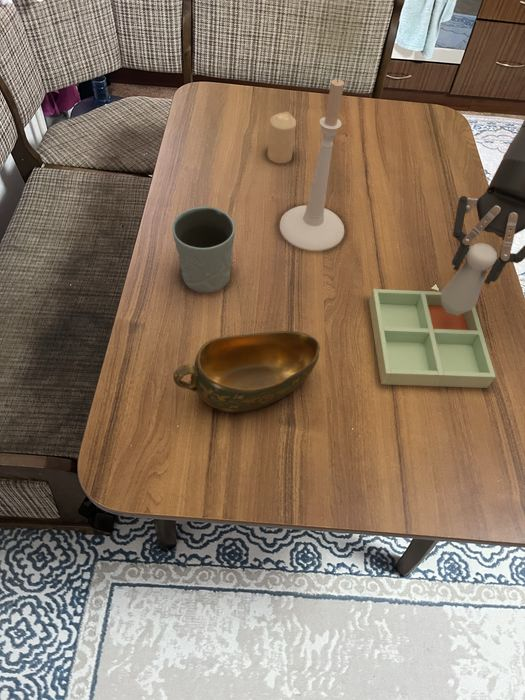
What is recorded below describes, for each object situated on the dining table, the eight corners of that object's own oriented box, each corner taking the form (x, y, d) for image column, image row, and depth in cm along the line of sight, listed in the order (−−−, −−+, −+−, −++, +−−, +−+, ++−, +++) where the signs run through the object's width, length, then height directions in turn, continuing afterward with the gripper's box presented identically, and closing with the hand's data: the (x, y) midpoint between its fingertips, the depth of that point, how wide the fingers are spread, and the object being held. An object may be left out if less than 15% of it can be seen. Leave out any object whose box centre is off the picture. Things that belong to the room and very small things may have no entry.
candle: (277, 146, 120) (281, 104, 112) (296, 156, 119) (302, 114, 110) (262, 157, 118) (265, 114, 110) (281, 167, 116) (286, 125, 108)
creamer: (194, 345, 88) (190, 305, 79) (314, 364, 87) (323, 326, 79) (175, 413, 80) (169, 377, 72) (306, 434, 79) (316, 401, 71)
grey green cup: (240, 264, 99) (242, 213, 89) (223, 304, 93) (223, 254, 83) (189, 251, 100) (185, 200, 90) (169, 290, 94) (162, 239, 84)
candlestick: (334, 259, 101) (370, 110, 76) (270, 241, 103) (285, 90, 78) (350, 217, 108) (387, 68, 84) (290, 201, 110) (309, 51, 85)
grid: (463, 306, 96) (471, 292, 93) (486, 388, 86) (496, 377, 83) (368, 302, 95) (373, 288, 92) (380, 385, 85) (386, 373, 82)
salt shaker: (469, 295, 91) (501, 238, 80) (473, 321, 88) (508, 266, 77) (435, 291, 91) (463, 234, 80) (438, 317, 88) (468, 261, 77)
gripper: (482, 143, 75) (426, 256, 79) (584, 180, 72) (520, 296, 76) (478, 157, 82) (427, 259, 86) (570, 191, 79) (513, 296, 83)
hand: (471, 276), depth 81 cm, fingers closed on salt shaker, 4 cm apart
